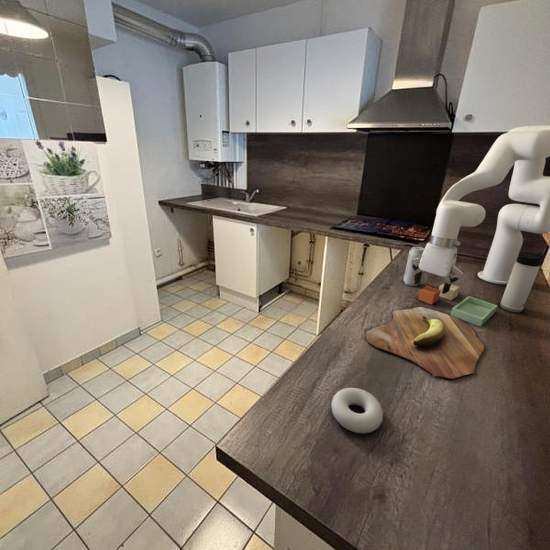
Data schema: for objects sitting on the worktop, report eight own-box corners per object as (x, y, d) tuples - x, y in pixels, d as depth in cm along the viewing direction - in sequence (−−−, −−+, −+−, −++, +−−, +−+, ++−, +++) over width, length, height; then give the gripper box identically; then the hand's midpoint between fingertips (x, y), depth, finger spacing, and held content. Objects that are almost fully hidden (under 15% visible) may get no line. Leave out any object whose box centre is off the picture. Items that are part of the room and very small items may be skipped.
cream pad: (443, 291, 112) (445, 282, 111) (457, 296, 109) (459, 286, 107) (436, 295, 109) (439, 285, 107) (451, 300, 105) (453, 290, 104)
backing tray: (466, 302, 104) (468, 295, 103) (495, 312, 98) (497, 305, 97) (450, 315, 96) (452, 308, 95) (480, 326, 90) (483, 319, 89)
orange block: (424, 295, 109) (427, 285, 107) (438, 300, 106) (441, 290, 104) (417, 299, 106) (420, 289, 104) (431, 304, 102) (434, 294, 101)
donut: (369, 395, 63) (325, 396, 62) (372, 383, 62) (326, 384, 61) (390, 436, 54) (338, 439, 53) (394, 423, 53) (340, 425, 52)
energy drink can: (414, 287, 115) (423, 251, 109) (400, 283, 119) (407, 248, 113) (421, 283, 118) (429, 248, 113) (407, 279, 123) (414, 245, 117)
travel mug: (527, 313, 98) (550, 257, 90) (505, 311, 99) (526, 255, 91) (516, 305, 103) (537, 251, 95) (496, 303, 104) (515, 249, 97)
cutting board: (465, 393, 64) (470, 380, 63) (354, 341, 81) (356, 330, 80) (493, 330, 88) (497, 319, 86) (402, 300, 105) (404, 290, 103)
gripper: (475, 246, 93) (460, 294, 100) (422, 234, 105) (411, 277, 112) (466, 250, 89) (451, 299, 95) (412, 237, 101) (402, 282, 107)
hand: (430, 288), depth 104 cm, fingers open, 9 cm apart
